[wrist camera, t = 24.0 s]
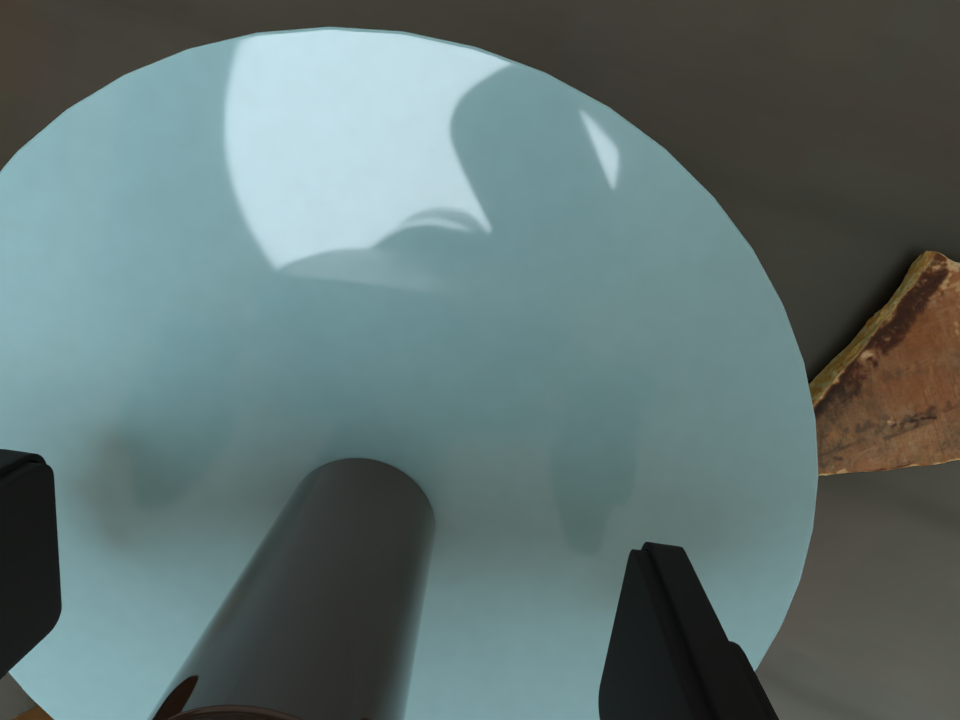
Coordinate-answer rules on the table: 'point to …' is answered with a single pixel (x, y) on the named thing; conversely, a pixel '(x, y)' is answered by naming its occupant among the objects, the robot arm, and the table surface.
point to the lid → (382, 386)
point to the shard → (896, 380)
